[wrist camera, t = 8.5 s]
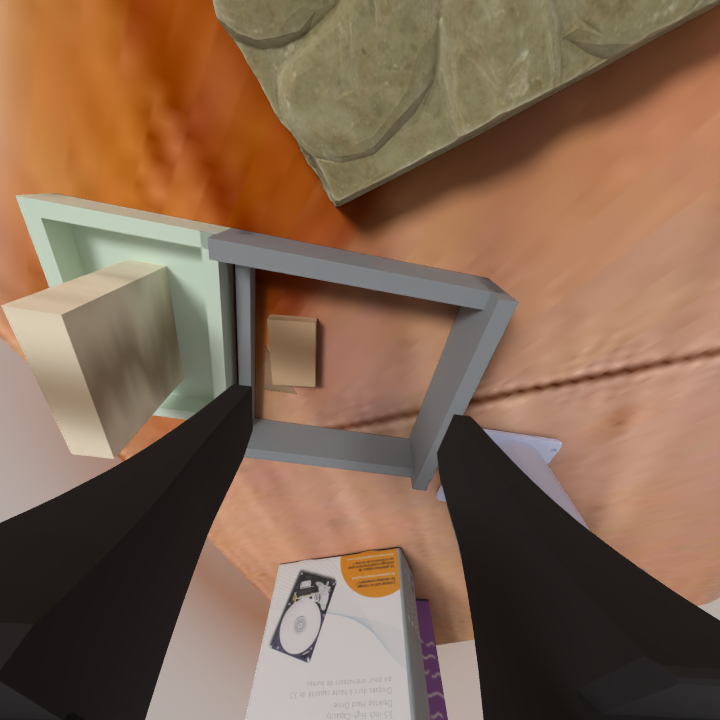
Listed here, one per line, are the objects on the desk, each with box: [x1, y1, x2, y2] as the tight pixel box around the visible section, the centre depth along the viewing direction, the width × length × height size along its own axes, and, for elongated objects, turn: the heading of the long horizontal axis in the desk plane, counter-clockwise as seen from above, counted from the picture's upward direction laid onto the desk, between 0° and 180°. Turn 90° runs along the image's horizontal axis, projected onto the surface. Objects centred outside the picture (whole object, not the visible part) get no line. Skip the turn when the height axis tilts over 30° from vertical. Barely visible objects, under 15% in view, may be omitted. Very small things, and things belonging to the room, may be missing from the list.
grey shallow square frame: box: [208, 228, 519, 491], centre depth 19 cm, size 15×15×4 cm
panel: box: [1, 259, 184, 459], centre depth 16 cm, size 8×2×7 cm, turn 169°
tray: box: [16, 193, 237, 419], centre depth 18 cm, size 13×9×2 cm
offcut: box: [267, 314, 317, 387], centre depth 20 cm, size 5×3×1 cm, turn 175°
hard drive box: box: [245, 548, 431, 720], centre depth 29 cm, size 16×8×20 cm, turn 107°
